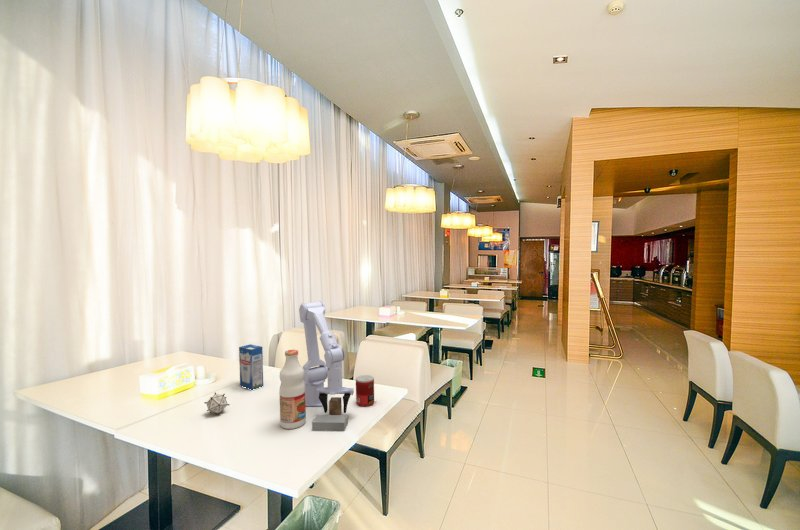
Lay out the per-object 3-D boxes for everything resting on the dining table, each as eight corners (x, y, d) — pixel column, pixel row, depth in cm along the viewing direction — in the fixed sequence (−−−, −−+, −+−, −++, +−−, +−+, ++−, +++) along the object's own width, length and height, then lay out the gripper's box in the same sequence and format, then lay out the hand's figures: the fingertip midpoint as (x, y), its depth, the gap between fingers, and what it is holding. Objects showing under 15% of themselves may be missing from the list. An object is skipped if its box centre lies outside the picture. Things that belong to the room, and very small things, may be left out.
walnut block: (329, 419, 134) (328, 401, 134) (331, 414, 138) (331, 396, 138) (339, 419, 134) (339, 401, 134) (341, 414, 138) (341, 396, 138)
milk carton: (263, 386, 170) (262, 346, 169) (252, 390, 164) (251, 349, 164) (251, 382, 175) (250, 344, 175) (240, 386, 170) (238, 347, 169)
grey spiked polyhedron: (223, 420, 142) (238, 400, 143) (206, 422, 134) (222, 400, 135) (212, 406, 146) (226, 386, 147) (195, 407, 138) (211, 386, 139)
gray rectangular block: (312, 430, 125) (312, 422, 125) (317, 422, 131) (316, 414, 131) (344, 430, 125) (344, 422, 125) (347, 422, 131) (347, 415, 131)
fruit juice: (281, 419, 134) (280, 348, 134) (306, 416, 136) (304, 347, 136) (278, 431, 125) (277, 355, 125) (305, 427, 127) (303, 353, 127)
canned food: (371, 407, 144) (371, 381, 144) (353, 406, 145) (353, 380, 145) (376, 400, 151) (376, 375, 151) (359, 398, 153) (358, 374, 153)
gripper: (313, 381, 132) (314, 416, 132) (350, 381, 131) (351, 416, 132) (319, 375, 139) (319, 408, 139) (354, 375, 138) (354, 408, 139)
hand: (335, 411), depth 136 cm, fingers open, 7 cm apart
